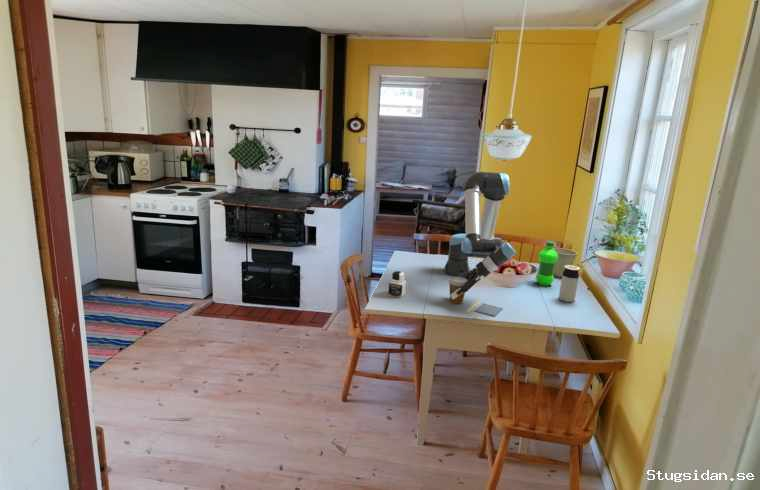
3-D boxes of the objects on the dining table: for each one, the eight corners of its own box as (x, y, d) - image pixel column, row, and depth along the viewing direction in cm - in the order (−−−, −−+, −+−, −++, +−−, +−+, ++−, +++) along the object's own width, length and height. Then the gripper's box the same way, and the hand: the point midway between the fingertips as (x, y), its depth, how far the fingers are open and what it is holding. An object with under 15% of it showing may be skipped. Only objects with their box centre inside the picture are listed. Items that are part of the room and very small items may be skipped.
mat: (474, 311, 231) (474, 310, 231) (483, 304, 241) (483, 303, 241) (494, 316, 226) (494, 315, 226) (502, 309, 236) (502, 308, 236)
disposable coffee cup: (466, 299, 246) (468, 277, 243) (465, 306, 237) (468, 283, 234) (447, 297, 247) (449, 275, 244) (445, 303, 238) (448, 280, 235)
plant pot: (556, 280, 288) (560, 254, 284) (542, 272, 302) (546, 247, 298) (577, 279, 292) (582, 254, 288) (563, 272, 305) (567, 247, 301)
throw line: (466, 311, 230) (466, 311, 230) (477, 302, 244) (477, 301, 243) (468, 312, 230) (468, 311, 230) (480, 302, 243) (480, 302, 243)
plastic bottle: (557, 286, 276) (564, 244, 270) (541, 287, 272) (548, 245, 266) (545, 281, 285) (552, 240, 279) (530, 281, 281) (537, 240, 275)
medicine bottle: (387, 295, 245) (389, 273, 242) (392, 291, 251) (394, 269, 248) (401, 298, 242) (403, 275, 239) (405, 293, 249) (407, 271, 246)
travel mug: (574, 303, 251) (580, 270, 246) (558, 300, 253) (564, 268, 249) (574, 298, 258) (580, 266, 254) (558, 295, 261) (564, 264, 256)
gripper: (494, 279, 225) (456, 307, 231) (488, 265, 248) (455, 291, 253) (483, 267, 224) (446, 296, 230) (479, 254, 247) (445, 280, 252)
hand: (451, 293), depth 241 cm, fingers open, 11 cm apart
